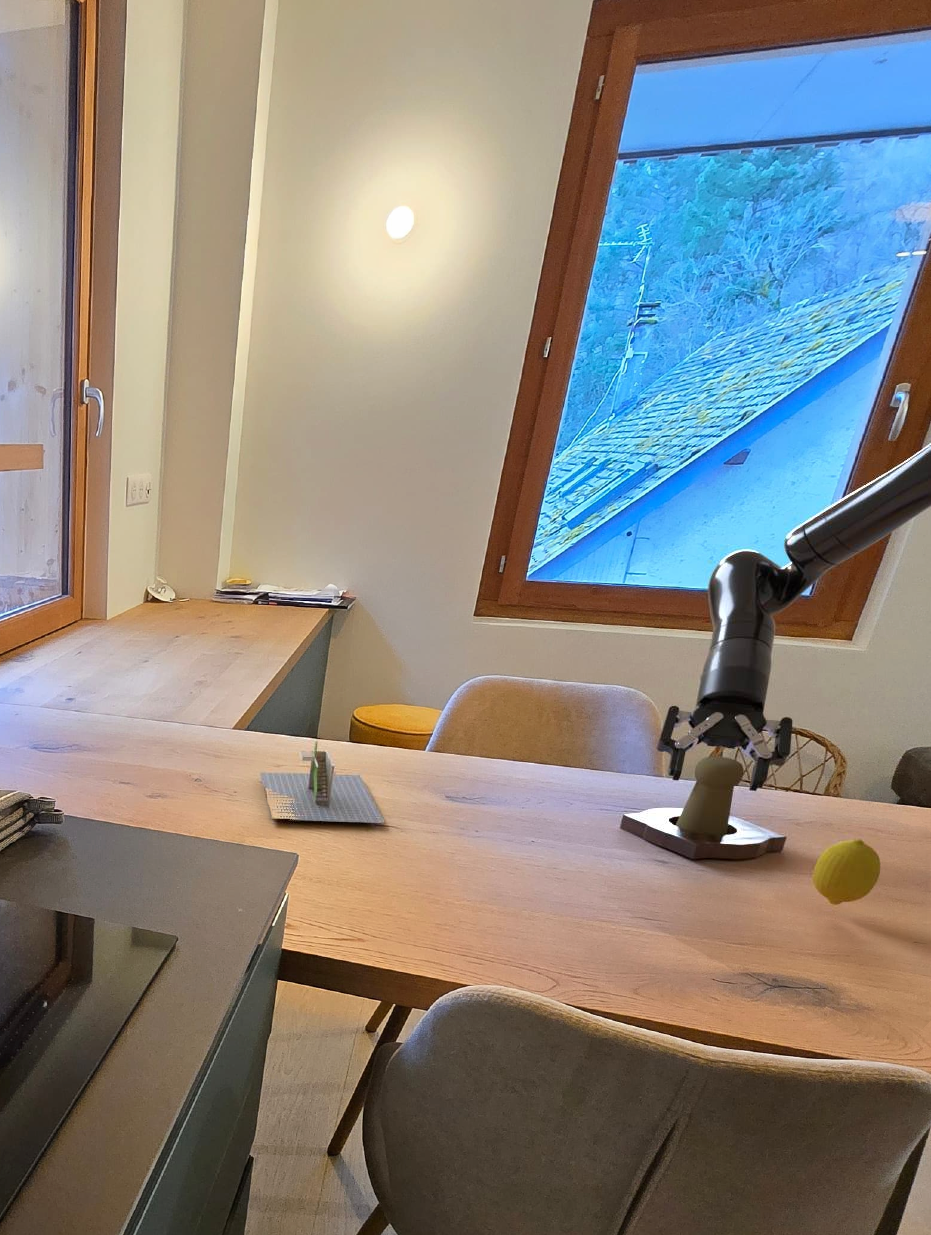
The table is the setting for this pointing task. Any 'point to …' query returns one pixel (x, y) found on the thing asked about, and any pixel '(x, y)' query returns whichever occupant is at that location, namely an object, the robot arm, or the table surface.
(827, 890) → the lemon
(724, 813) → the cork
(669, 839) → the holder
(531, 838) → the table surface
